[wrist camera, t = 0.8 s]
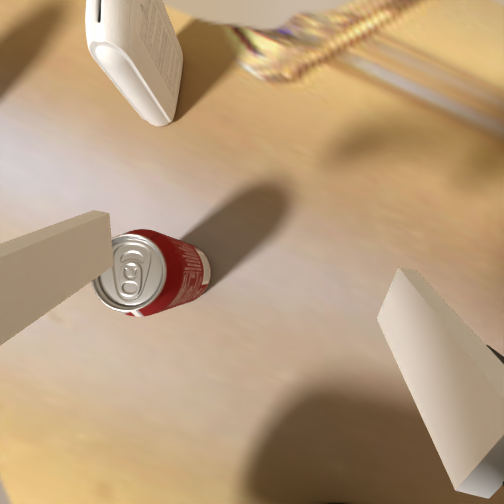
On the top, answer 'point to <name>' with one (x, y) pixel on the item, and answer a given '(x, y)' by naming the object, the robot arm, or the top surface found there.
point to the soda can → (152, 273)
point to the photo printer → (137, 53)
